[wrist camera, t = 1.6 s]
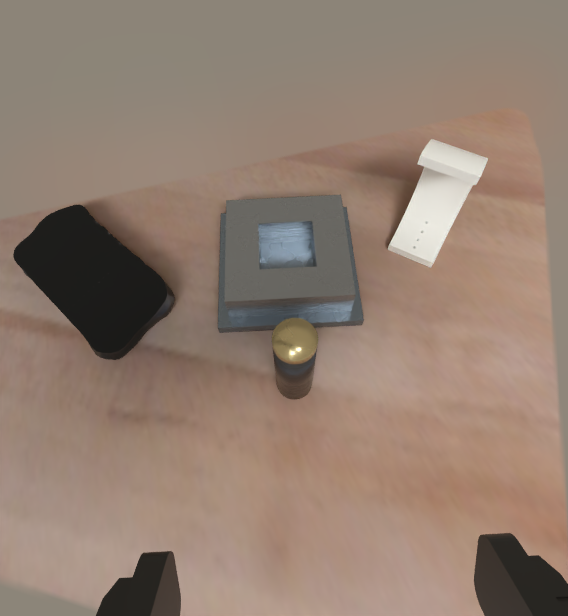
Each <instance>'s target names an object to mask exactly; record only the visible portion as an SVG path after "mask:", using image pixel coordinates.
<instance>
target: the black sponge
mask: <svg viewBox="0 0 568 616" xmlns="http://www.w3.org/2000/svg"><path fill="white" fill-rule="evenodd" d="M13 255H14V259H15V261H16V262H17V264H18V265H19V266H20V267H21V268H22V269H23V271H24V273H25V274H26V275H27V276H28V277H29V278H31V279H32V280H33V282H34V283H35V284H36V285H37V286H38V287H39V288H40V289H41V290H42V291H43V292H44V293H45V295H46V296H47V297H48V298H49V299H50V300H51V301H52V302H53V303H54V304H55V305H56V306H57V307H58V309H59V310H60V311H61V312H62V313H63V314H64V315H65V316H66V317H67V318H68V319H69V320H70V322H71V323H72V324H73V325H74V326H75V327H76V328H77V329H78V330H79V331H80V332H81V333H82V335H83V336H84V337H85V338H86V340H87V341H88V343H89V344H90V346H91V348H92V349H93V351H94V352H95V354H96V355H97V356H99V357H101V358H104V359H113V360H116V359H120V358H122V357H123V356H125V355H126V354H127V353H128V352H129V351H130V350H131V349H132V348H133V347H134V346H135V345H136V344H137V343H138V341H139V340H140V339H141V338H142V336H143V335H144V334H145V333H146V332H147V331H148V330H149V329H150V328H151V327H153V326H154V325H155V324H156V323H157V322H159V321H160V320H161V319H163V318H165V317H166V316H167V315H168V314H169V312H170V310H171V308H172V306H173V304H174V295H173V293H172V291H171V289H170V288H169V287H168V286H167V284H166V283H165V282H164V281H163V279H162V278H161V277H160V276H159V275H158V274H157V273H156V272H155V271H154V270H152V269H151V268H150V267H148V266H147V265H145V263H144V262H143V261H142V260H141V259H140V258H139V257H137V256H136V255H134V254H133V253H132V252H131V251H129V250H128V249H127V248H126V247H125V246H123V245H122V244H121V243H120V242H119V241H118V240H117V239H116V238H114V237H113V236H112V235H111V234H110V233H109V232H108V231H107V230H106V229H105V228H104V227H103V226H101V225H100V224H99V223H98V222H96V221H95V220H94V218H93V217H92V216H91V215H90V214H89V212H88V211H87V210H86V208H85V207H83V206H82V205H73V206H70V207H66V208H63V209H60V210H58V211H56V212H54V213H51V214H50V215H48V216H46V217H45V218H44V219H43V220H42V221H41V222H40V223H39V224H38V226H37V227H36V228H35V230H34V231H33V232H32V233H31V234H30V235H29V236H28V237H27V238H26V239H24V240H23V241H22V242H21V243H20V244H19V245H18V246H17V247H16V248H15V250H14V254H13Z"/></svg>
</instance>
